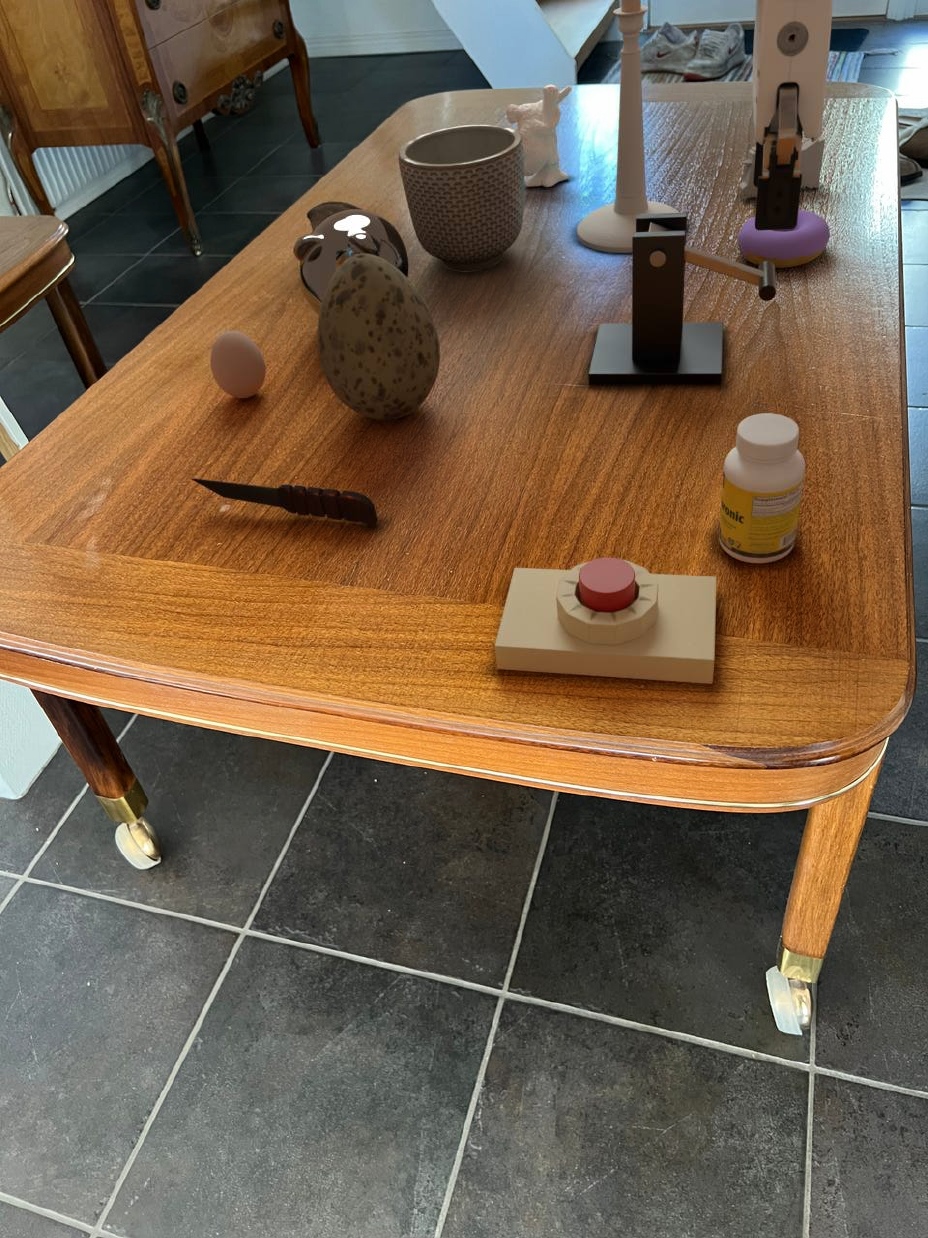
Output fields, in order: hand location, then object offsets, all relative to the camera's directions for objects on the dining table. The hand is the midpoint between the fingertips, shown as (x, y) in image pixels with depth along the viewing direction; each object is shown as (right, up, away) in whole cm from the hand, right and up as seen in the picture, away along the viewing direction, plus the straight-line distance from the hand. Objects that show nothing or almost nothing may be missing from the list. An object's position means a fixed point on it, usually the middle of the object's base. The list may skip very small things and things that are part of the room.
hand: (773, 205), depth 80 cm
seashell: (-40, +10, +38) cm, 56 cm away
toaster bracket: (-7, -9, +12) cm, 17 cm away
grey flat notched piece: (+13, +18, +38) cm, 44 cm away
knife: (-41, -26, +1) cm, 48 cm away
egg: (-48, -12, +16) cm, 52 cm away
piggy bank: (-37, -2, +25) cm, 44 cm away
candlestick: (-6, +12, +35) cm, 37 cm away
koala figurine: (-15, +24, +50) cm, 57 cm away
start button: (-16, -33, -17) cm, 40 cm away
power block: (-16, -35, -14) cm, 41 cm away
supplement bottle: (-4, -29, -9) cm, 31 cm away
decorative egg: (-33, -15, +11) cm, 37 cm away
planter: (-25, +8, +34) cm, 43 cm away
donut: (+9, +5, +25) cm, 28 cm away
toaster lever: (-4, -4, +5) cm, 8 cm away
